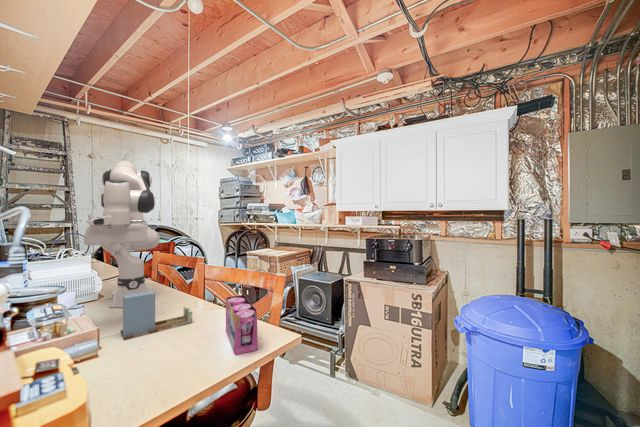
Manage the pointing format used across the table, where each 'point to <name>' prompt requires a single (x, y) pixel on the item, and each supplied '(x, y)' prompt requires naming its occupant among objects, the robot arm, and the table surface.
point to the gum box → (241, 324)
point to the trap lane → (167, 324)
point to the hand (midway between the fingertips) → (117, 255)
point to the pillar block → (138, 313)
